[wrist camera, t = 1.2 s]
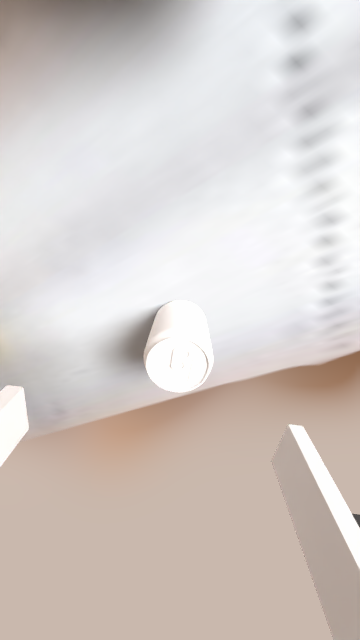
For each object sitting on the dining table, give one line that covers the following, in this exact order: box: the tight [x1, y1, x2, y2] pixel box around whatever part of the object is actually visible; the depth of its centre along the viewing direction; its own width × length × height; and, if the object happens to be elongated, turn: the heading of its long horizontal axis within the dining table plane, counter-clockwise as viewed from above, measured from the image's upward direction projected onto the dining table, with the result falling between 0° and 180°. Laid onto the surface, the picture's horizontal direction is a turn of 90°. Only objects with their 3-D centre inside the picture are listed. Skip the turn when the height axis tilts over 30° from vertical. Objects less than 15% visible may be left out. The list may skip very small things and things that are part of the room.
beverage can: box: [144, 300, 213, 392], centre depth 31 cm, size 8×8×12 cm
